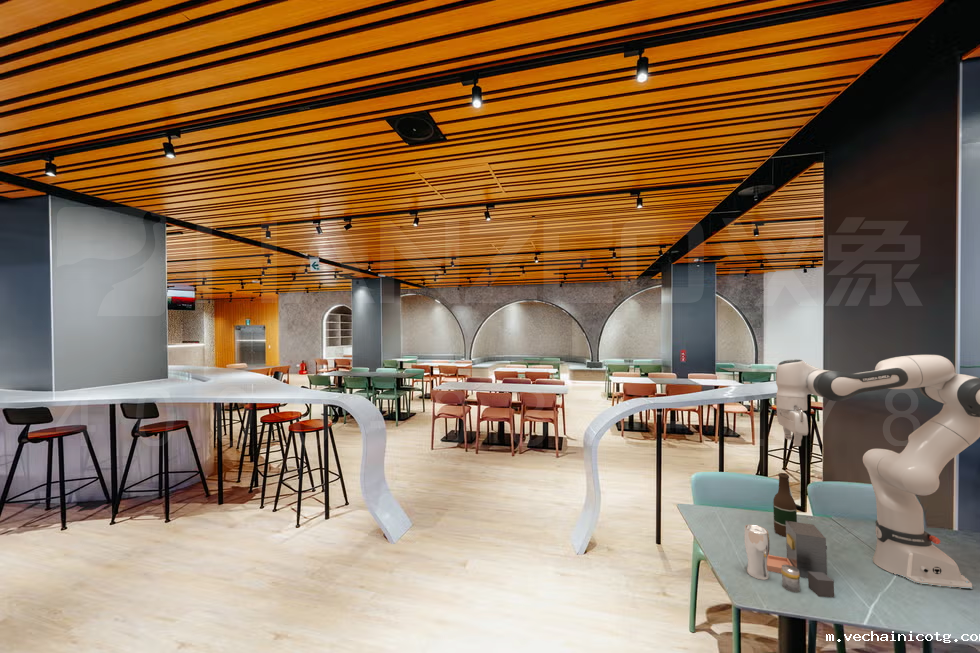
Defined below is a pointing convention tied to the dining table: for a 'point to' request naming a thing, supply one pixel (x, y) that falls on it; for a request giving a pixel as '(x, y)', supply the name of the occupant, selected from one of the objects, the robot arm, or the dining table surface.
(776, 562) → the tray
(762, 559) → the beer glass
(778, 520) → the beer bottle
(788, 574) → the cylinder
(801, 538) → the dark grey block
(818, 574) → the rubber block
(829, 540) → the dining table surface
